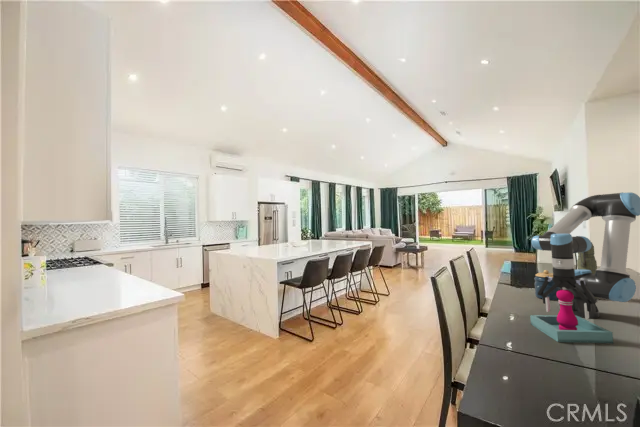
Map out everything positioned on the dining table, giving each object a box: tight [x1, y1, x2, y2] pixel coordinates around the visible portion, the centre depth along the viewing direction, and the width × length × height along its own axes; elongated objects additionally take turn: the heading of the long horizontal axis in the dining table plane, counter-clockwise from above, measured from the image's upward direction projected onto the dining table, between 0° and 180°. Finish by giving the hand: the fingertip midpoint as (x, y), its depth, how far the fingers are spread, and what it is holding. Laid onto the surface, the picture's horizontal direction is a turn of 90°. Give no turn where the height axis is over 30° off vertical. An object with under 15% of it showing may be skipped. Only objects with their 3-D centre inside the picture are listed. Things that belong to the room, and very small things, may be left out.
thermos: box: [576, 241, 600, 301], centre depth 173 cm, size 9×12×35 cm
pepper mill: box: [556, 287, 578, 330], centre depth 125 cm, size 7×7×20 cm
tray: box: [529, 314, 614, 344], centre depth 125 cm, size 20×20×4 cm
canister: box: [533, 269, 561, 301], centre depth 177 cm, size 13×13×18 cm
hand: (566, 314), depth 125 cm, fingers open, 13 cm apart
